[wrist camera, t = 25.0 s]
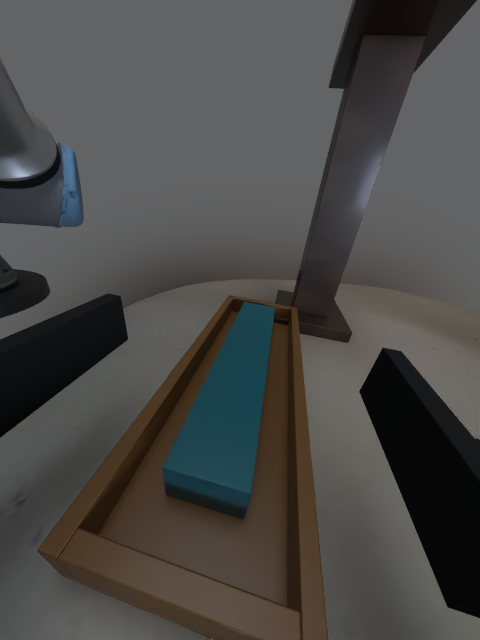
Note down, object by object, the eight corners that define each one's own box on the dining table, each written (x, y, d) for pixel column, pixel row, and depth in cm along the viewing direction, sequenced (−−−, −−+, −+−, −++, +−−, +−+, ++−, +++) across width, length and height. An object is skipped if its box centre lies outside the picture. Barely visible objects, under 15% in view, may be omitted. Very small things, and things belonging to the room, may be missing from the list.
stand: (272, 327, 28) (352, -50, 14) (276, 297, 39) (325, 64, 25) (348, 342, 27) (520, -57, 13) (331, 307, 37) (415, 66, 23)
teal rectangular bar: (165, 494, 10) (161, 467, 9) (242, 318, 28) (244, 301, 26) (244, 519, 10) (251, 494, 8) (271, 324, 27) (275, 307, 26)
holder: (60, 575, 8) (35, 550, 7) (227, 312, 31) (229, 295, 29) (305, 677, 7) (332, 672, 6) (292, 325, 29) (297, 307, 28)
